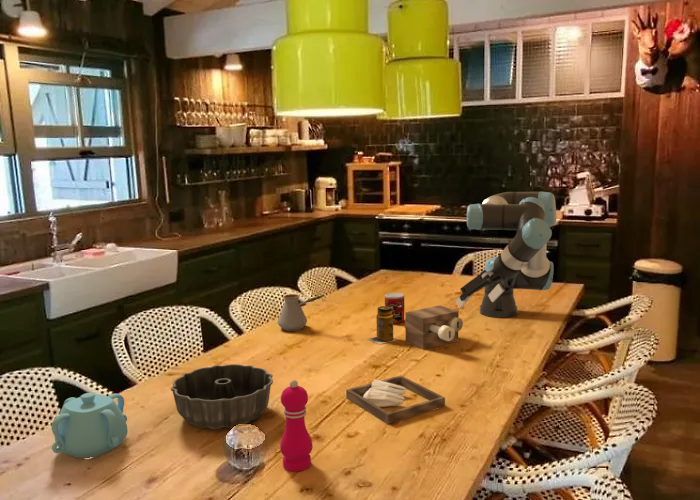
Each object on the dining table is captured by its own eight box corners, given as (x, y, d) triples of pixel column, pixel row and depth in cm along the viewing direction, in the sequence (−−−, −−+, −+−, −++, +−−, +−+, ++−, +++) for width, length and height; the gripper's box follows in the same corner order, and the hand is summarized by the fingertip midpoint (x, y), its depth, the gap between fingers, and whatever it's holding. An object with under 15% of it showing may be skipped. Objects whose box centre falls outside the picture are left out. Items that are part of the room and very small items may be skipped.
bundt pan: (241, 388, 185) (239, 356, 184) (294, 416, 166) (293, 380, 164) (156, 415, 168) (153, 380, 166) (204, 449, 149) (202, 410, 147)
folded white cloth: (360, 408, 170) (400, 414, 166) (360, 394, 169) (400, 399, 165) (373, 391, 181) (411, 396, 177) (373, 378, 180) (411, 382, 177)
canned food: (382, 323, 247) (382, 296, 245) (388, 318, 254) (387, 292, 253) (401, 325, 245) (401, 297, 243) (406, 319, 252) (406, 293, 250)
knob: (426, 329, 223) (426, 316, 222) (455, 340, 210) (455, 326, 210) (416, 331, 221) (415, 318, 220) (444, 342, 208) (444, 328, 207)
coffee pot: (271, 330, 242) (270, 292, 240) (290, 322, 252) (288, 286, 249) (316, 338, 231) (315, 298, 228) (334, 330, 240) (333, 291, 238)
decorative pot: (44, 467, 142) (37, 411, 140) (70, 434, 158) (64, 383, 155) (117, 463, 143) (112, 407, 141) (136, 431, 159) (131, 380, 157)
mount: (440, 334, 232) (440, 305, 230) (463, 342, 222) (463, 312, 220) (405, 342, 224) (405, 312, 222) (428, 351, 213) (428, 320, 211)
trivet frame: (400, 383, 186) (400, 375, 186) (444, 406, 169) (444, 397, 169) (346, 398, 176) (346, 389, 176) (387, 424, 160) (387, 414, 159)
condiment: (398, 340, 227) (397, 308, 224) (379, 344, 222) (378, 311, 220) (386, 335, 233) (385, 303, 231) (367, 339, 228) (366, 307, 226)
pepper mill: (291, 476, 136) (287, 389, 132) (275, 463, 141) (271, 379, 138) (319, 466, 140) (316, 381, 136) (302, 453, 146) (299, 371, 142)
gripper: (485, 276, 173) (449, 317, 188) (547, 266, 186) (509, 305, 201) (472, 255, 177) (438, 297, 192) (534, 246, 190) (497, 286, 205)
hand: (474, 301), depth 197 cm, fingers open, 13 cm apart
